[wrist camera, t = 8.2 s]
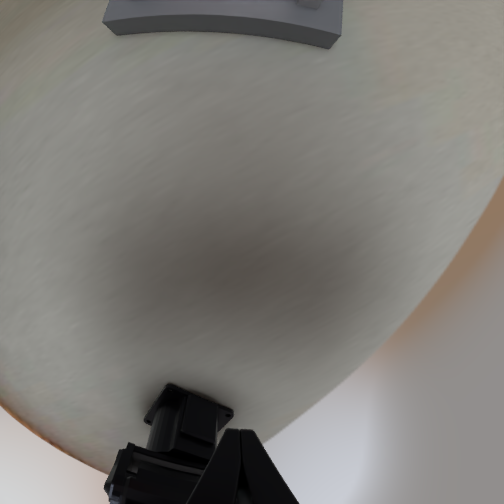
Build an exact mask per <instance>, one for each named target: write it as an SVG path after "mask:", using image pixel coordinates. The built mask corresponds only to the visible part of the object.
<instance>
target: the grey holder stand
mask: <svg viewBox="0 0 504 504" xmlns="http://www.w3.org/2000/svg"><path fill="white" fill-rule="evenodd" d="M342 12H343V0H109V3H108V6H107V8H106V11H105V14H104V17H103V20H102V23H103V24H105V25H106V26H107V27H108V28H109V29H110V30H111V31H112V32H113V33H114V34H116V35H124V34H134V33H146V32H163V31H208V32H226V33H238V34H248V35H257V36H264V37H271V38H278V39H284V40H289V41H295V42H300V43H305V44H309V45H314V46H318V47H322V48H327V49H329V48H330V47H331V46H332V45H333V44H334V43H335V42H336V41H337V39H338V38H339V37H340V36H341V31H342Z"/></svg>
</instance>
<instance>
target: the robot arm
mask: <svg viewBox="0 0 504 504" xmlns="http://www.w3.org/2000/svg"><path fill="white" fill-rule="evenodd" d="M169 389H170V390H169ZM233 416H234V411H233V410H231V409H229V408H226V407H223V406H221V405H218V404H216V403H213V402H211V401H208V400H206V399H203V398H201V397H199V396H196V395H194V394H192V393H189V392H187V391H185V390H183V389H181V388H178V387H176V386H174V385H171V384H167V385H166V386H165V387H164V389H163V390H162V392H161V393H160V395H159V396H158V398H157V399H156V401H155V402H154V404H153V405H152V407H151V408H150V410H149V411H148V413H147V414H146V416H145V418H144V422H145V423H146V424H148V425H151V426H152V427H151V431H150V435H149V439H148V443H147V447H146V449H145V448H142V447H138V446H135V444H133V443H130V442H128V445H127V448H125V449H121V450H119V451H118V454H117V457H116V461H115V463H114V466H113V468H112V470H111V472H110V474H109V476H108V478H107V480H106V482H105V485H104V490H105V492H106V493H107V495H108V496H109V502H110V504H299V502H298V501H297V499H296V498H295V496H294V495H293V493H292V492H291V490H290V489H289V487H288V486H287V484H286V483H285V481H284V480H283V478H282V476H281V475H280V474H279V472H278V470H277V468H276V467H275V465H274V463H273V462H272V460H271V459H270V457H269V455H268V454H267V452H266V450H265V449H264V447H263V445H262V443H261V442H260V440H259V438H258V437H257V435H256V433H255V432H254V431H253V430H251V429H241V430H239V429H233V428H227V429H226V430H225V432H224V434H223V436H222V438H221V440H220V442H219V444H218V446H217V432H219V431H220V430H221V429H222V428H223V427H224V426H225V425H226V424H227V423H228V422H229V421H230V420H231V419H232V418H233Z"/></svg>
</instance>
